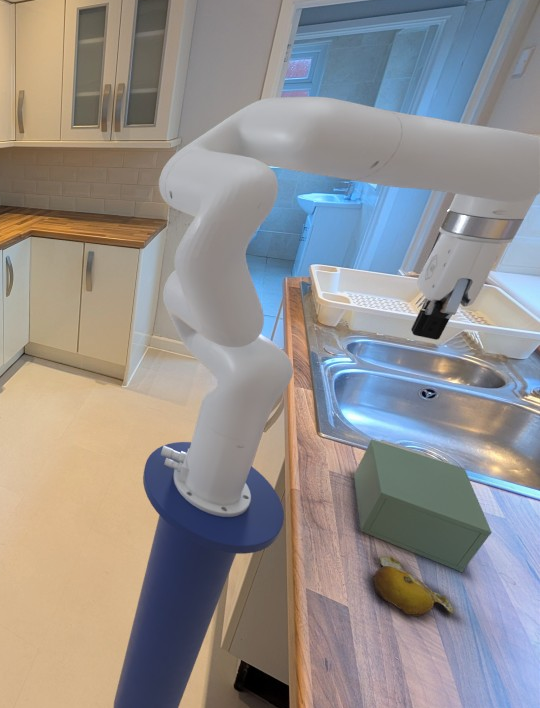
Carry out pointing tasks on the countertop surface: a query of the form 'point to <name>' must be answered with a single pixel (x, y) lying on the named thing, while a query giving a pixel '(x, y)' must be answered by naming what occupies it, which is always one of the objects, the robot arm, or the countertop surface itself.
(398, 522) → the cabinet
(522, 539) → the countertop surface
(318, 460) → the countertop surface
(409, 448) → the drawer
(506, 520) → the countertop surface
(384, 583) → the fruit
